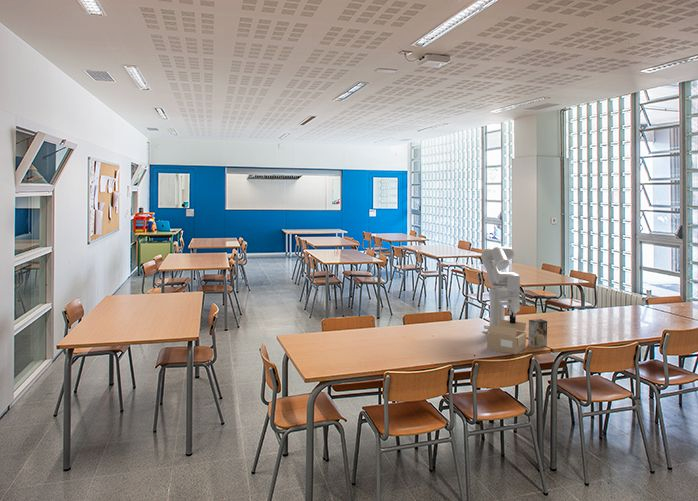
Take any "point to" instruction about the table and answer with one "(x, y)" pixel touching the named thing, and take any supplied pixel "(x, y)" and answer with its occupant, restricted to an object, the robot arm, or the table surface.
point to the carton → (506, 342)
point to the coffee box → (537, 333)
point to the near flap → (503, 330)
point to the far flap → (513, 325)
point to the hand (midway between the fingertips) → (512, 323)
